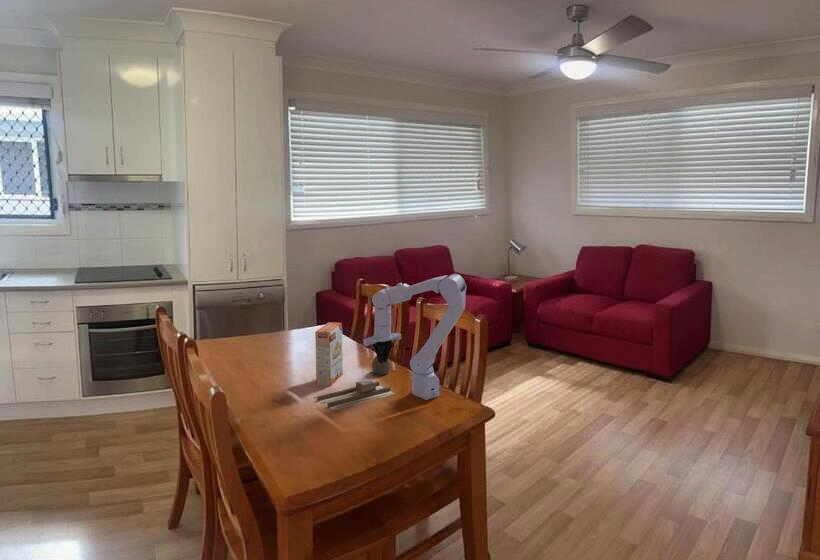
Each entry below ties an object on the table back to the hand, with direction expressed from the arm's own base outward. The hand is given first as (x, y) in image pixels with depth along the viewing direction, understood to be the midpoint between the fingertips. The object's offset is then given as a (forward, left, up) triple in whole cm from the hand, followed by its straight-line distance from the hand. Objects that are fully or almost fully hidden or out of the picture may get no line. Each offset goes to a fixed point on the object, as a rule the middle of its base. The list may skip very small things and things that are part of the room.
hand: (382, 362), depth 200 cm
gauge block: (0, +7, -9) cm, 12 cm away
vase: (+14, -8, -11) cm, 19 cm away
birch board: (0, +12, -10) cm, 16 cm away
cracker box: (+19, +11, -11) cm, 24 cm away
